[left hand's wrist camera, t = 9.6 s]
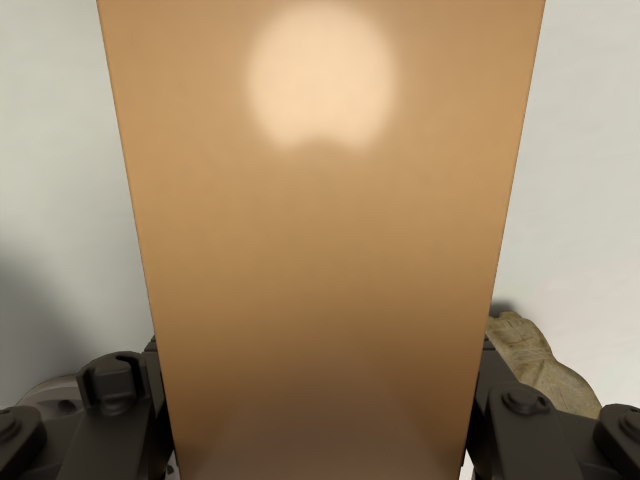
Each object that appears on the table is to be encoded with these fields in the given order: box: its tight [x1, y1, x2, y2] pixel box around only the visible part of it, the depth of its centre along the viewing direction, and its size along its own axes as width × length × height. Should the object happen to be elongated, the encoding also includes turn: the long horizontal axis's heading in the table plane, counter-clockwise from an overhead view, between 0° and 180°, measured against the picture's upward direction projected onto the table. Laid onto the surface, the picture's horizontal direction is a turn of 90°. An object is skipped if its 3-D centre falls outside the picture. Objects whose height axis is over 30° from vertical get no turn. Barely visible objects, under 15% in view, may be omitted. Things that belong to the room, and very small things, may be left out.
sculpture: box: [485, 311, 602, 419], centre depth 23 cm, size 6×7×15 cm
